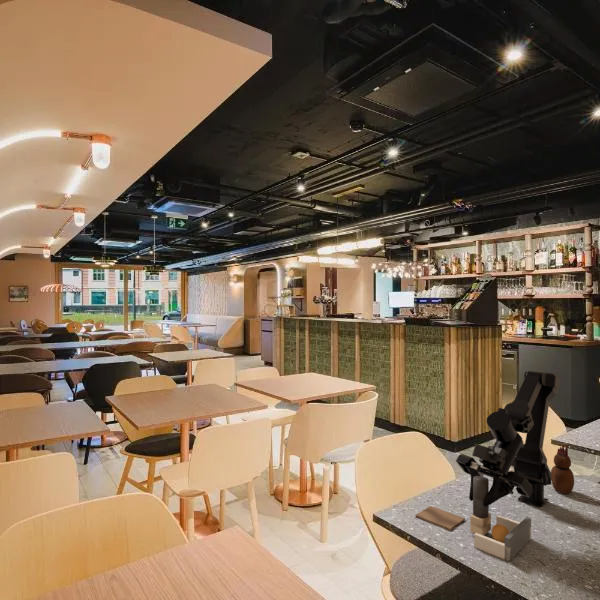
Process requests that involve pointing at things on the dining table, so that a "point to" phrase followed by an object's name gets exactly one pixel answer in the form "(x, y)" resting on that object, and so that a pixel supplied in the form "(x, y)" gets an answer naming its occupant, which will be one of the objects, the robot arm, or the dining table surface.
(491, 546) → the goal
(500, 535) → the ball
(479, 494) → the ball
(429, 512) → the brown rectangular plate
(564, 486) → the wooden figurine
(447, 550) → the dining table surface
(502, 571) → the dining table surface
